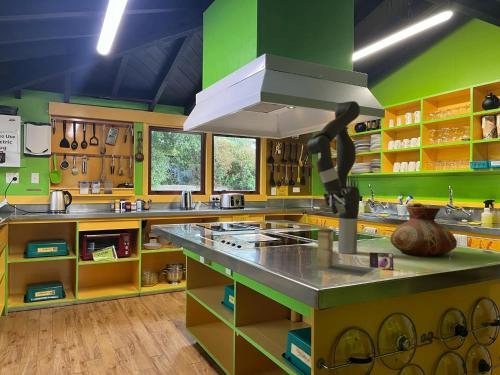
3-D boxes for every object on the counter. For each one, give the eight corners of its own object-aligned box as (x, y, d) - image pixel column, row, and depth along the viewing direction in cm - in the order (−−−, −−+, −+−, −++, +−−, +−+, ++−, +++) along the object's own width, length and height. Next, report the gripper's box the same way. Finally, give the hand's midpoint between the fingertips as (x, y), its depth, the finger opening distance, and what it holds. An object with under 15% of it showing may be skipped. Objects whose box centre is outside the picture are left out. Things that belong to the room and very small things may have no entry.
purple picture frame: (369, 251, 154) (393, 253, 152) (369, 254, 159) (391, 255, 156) (370, 268, 152) (393, 270, 150) (369, 270, 156) (392, 271, 154)
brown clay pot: (470, 257, 179) (471, 205, 179) (419, 261, 170) (420, 205, 170) (423, 247, 208) (424, 202, 208) (377, 249, 199) (378, 202, 198)
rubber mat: (319, 262, 163) (319, 261, 163) (374, 270, 150) (374, 268, 150) (303, 269, 150) (303, 267, 150) (361, 278, 137) (361, 276, 137)
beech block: (323, 264, 157) (324, 228, 157) (332, 265, 154) (333, 229, 154) (317, 266, 152) (318, 229, 152) (326, 268, 150) (327, 230, 149)
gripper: (346, 174, 166) (359, 208, 166) (326, 179, 178) (337, 211, 178) (334, 179, 162) (347, 214, 162) (314, 184, 175) (326, 217, 175)
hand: (342, 213), depth 170 cm, fingers open, 8 cm apart
